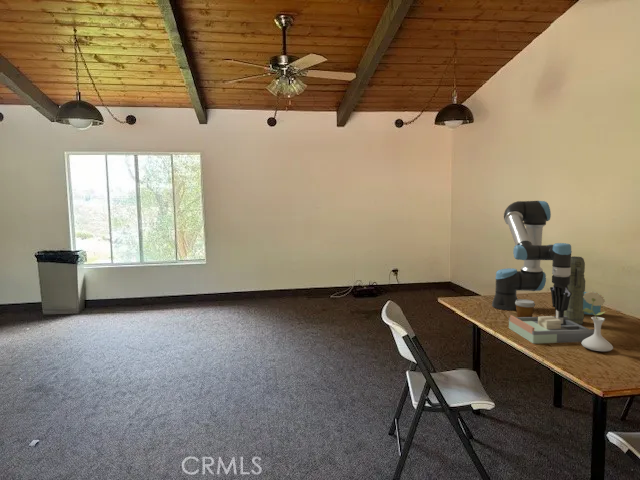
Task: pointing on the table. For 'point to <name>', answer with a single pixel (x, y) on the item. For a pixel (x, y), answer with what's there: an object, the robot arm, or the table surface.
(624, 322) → the table surface
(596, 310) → the data package
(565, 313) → the thermos
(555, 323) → the birch block
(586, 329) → the box
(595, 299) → the flower in vase
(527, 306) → the disposable coffee cup
